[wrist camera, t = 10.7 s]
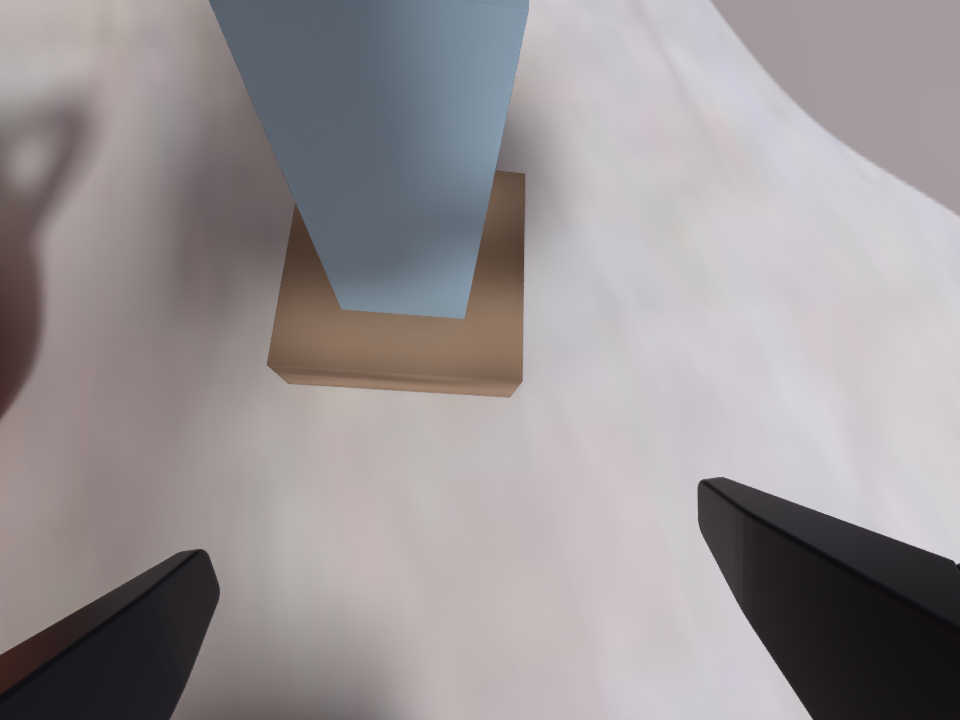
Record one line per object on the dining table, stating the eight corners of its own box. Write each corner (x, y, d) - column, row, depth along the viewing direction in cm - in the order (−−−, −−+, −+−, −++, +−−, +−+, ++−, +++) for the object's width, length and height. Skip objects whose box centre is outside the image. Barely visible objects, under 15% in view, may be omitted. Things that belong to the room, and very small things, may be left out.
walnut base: (510, 397, 22) (522, 381, 19) (288, 383, 21) (266, 364, 18) (513, 211, 25) (525, 173, 22) (318, 192, 24) (304, 150, 21)
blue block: (464, 318, 20) (528, 10, 7) (341, 309, 19) (193, -37, 7) (469, 214, 21) (530, -187, 9) (355, 203, 21) (253, -237, 8)
